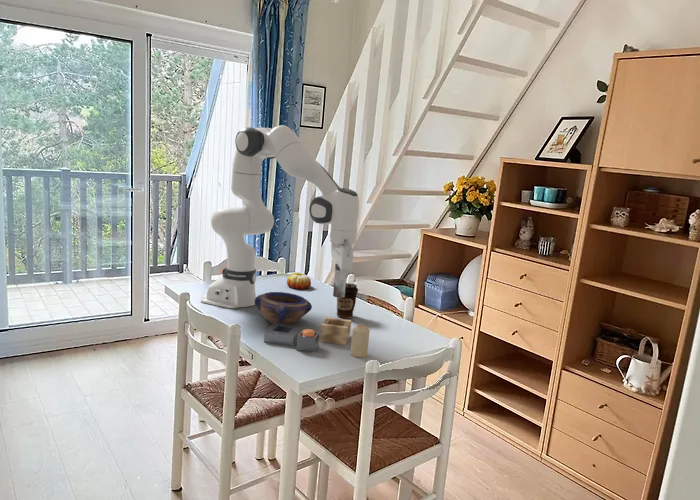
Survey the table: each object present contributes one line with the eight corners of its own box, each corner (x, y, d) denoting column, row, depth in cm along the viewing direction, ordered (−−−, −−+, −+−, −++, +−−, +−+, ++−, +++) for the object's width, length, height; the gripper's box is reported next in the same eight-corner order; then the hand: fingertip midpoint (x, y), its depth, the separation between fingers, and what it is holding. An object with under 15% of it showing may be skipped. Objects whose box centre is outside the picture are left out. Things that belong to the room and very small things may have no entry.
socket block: (263, 341, 177) (264, 332, 176) (272, 332, 187) (273, 322, 186) (292, 346, 175) (293, 336, 175) (300, 336, 185) (301, 326, 184)
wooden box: (319, 341, 182) (321, 324, 180) (325, 332, 190) (326, 317, 189) (345, 345, 180) (347, 328, 179) (350, 336, 189) (351, 320, 188)
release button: (300, 345, 173) (301, 332, 172) (303, 341, 177) (304, 328, 176) (312, 347, 172) (313, 334, 171) (315, 342, 176) (316, 330, 175)
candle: (349, 350, 176) (352, 322, 174) (366, 351, 176) (369, 323, 174) (351, 357, 170) (353, 327, 168) (368, 358, 171) (371, 328, 169)
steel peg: (333, 297, 180) (336, 265, 178) (332, 294, 184) (334, 263, 182) (345, 297, 181) (348, 266, 179) (343, 294, 185) (346, 263, 183)
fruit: (285, 288, 242) (286, 271, 243) (287, 289, 252) (288, 272, 253) (310, 290, 242) (311, 272, 243) (310, 290, 252) (311, 274, 253)
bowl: (316, 324, 198) (318, 299, 196) (277, 333, 186) (279, 306, 184) (287, 311, 211) (288, 287, 209) (248, 319, 198) (250, 293, 196)
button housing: (296, 350, 172) (297, 335, 171) (301, 343, 178) (302, 329, 177) (314, 352, 171) (315, 338, 170) (318, 346, 177) (319, 332, 176)
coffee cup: (353, 321, 206) (356, 289, 203) (332, 318, 207) (335, 286, 205) (357, 314, 214) (360, 283, 212) (337, 311, 216) (340, 281, 213)
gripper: (359, 243, 169) (355, 285, 172) (347, 232, 189) (343, 270, 191) (339, 242, 168) (336, 285, 170) (329, 231, 187) (326, 269, 190)
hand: (340, 277), depth 181 cm, fingers closed on steel peg, 4 cm apart
